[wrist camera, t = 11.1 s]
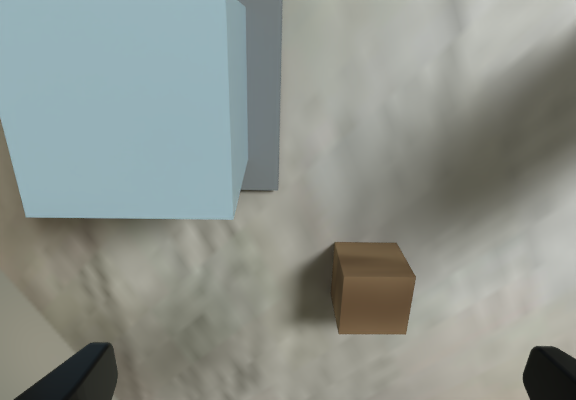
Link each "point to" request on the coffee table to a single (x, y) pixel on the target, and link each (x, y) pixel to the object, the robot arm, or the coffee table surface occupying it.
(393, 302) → the walnut block
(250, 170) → the gray square plate
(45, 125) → the pale blue cube
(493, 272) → the coffee table surface
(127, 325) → the coffee table surface
